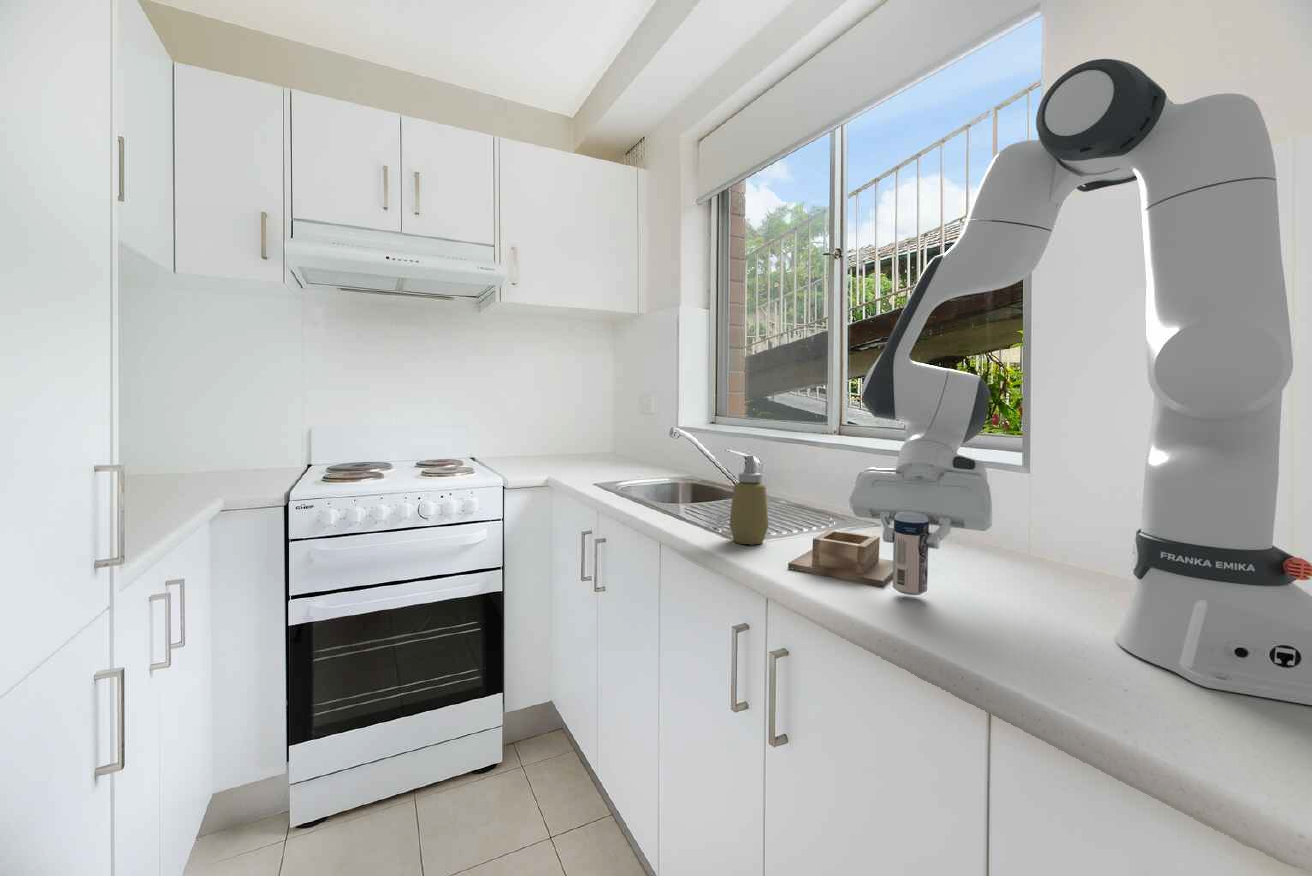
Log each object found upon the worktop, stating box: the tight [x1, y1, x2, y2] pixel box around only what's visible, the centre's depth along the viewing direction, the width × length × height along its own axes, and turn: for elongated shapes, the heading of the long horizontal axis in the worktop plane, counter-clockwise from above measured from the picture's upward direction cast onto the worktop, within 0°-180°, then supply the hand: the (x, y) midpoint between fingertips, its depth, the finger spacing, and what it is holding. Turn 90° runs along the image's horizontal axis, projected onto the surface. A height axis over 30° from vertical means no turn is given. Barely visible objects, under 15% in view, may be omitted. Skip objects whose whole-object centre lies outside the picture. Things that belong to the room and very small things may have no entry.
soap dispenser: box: [729, 455, 769, 546], centre depth 118 cm, size 8×8×18 cm
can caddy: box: [787, 529, 893, 588], centre depth 101 cm, size 16×13×6 cm
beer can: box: [892, 510, 930, 596], centre depth 86 cm, size 5×5×12 cm
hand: (909, 543), depth 86 cm, fingers closed on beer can, 5 cm apart
